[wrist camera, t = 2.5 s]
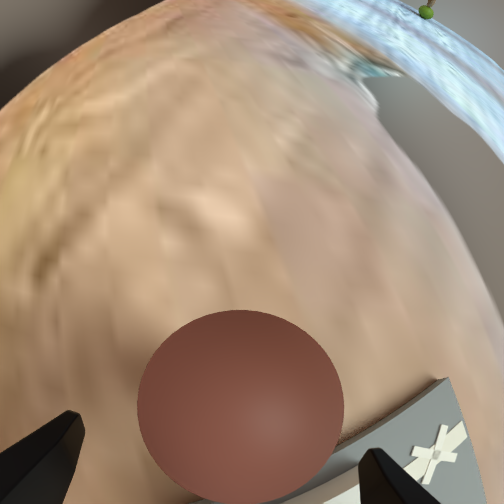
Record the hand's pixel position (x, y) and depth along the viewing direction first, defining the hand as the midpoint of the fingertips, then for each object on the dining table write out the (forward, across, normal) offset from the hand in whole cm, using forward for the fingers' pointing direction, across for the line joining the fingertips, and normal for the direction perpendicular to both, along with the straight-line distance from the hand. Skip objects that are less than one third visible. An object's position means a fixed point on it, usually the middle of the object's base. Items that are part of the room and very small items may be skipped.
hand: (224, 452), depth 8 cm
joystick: (+8, 0, +6) cm, 9 cm away
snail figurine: (+86, -50, -71) cm, 122 cm away
